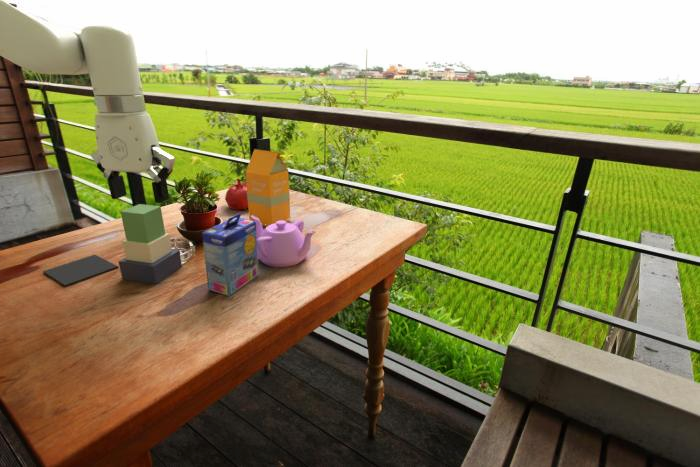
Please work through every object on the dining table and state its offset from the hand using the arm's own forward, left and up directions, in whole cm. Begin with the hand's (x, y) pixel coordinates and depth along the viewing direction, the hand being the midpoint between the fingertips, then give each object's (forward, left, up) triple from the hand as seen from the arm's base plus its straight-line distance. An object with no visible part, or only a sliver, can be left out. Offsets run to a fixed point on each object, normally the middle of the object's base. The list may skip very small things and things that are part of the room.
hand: (140, 199), depth 75 cm
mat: (-13, -8, -16) cm, 22 cm away
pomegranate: (-19, +41, -16) cm, 48 cm away
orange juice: (-3, +37, -16) cm, 40 cm away
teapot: (+17, +21, -16) cm, 31 cm away
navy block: (0, 0, -16) cm, 16 cm away
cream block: (0, 0, -12) cm, 12 cm away
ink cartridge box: (+17, +7, -16) cm, 24 cm away
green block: (0, 0, -8) cm, 8 cm away
